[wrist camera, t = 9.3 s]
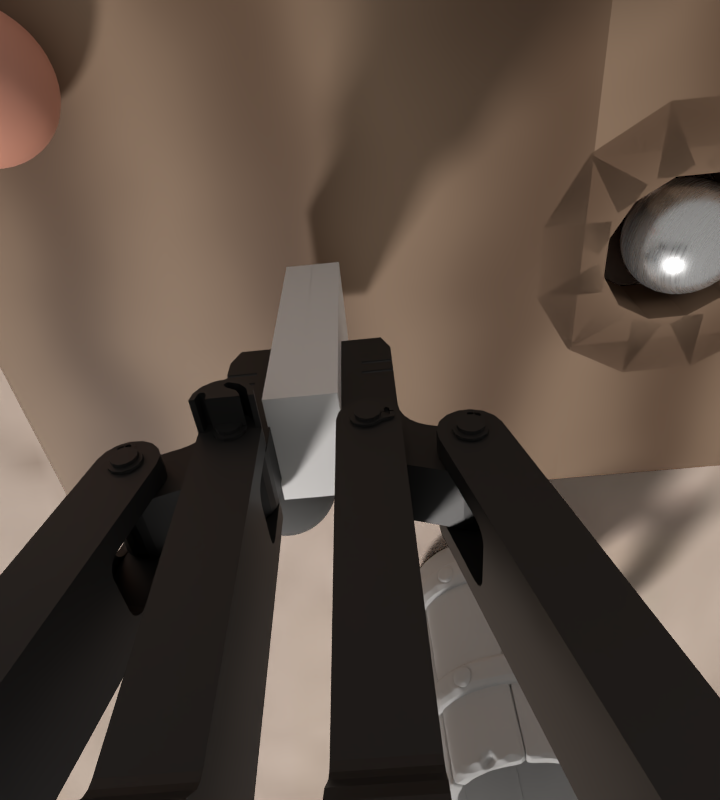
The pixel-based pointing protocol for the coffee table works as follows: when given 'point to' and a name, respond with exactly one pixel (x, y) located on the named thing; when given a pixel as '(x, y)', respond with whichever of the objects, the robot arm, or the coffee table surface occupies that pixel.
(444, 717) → the mug
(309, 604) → the coffee table surface
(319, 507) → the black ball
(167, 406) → the deck
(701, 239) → the steel ball
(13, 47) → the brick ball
